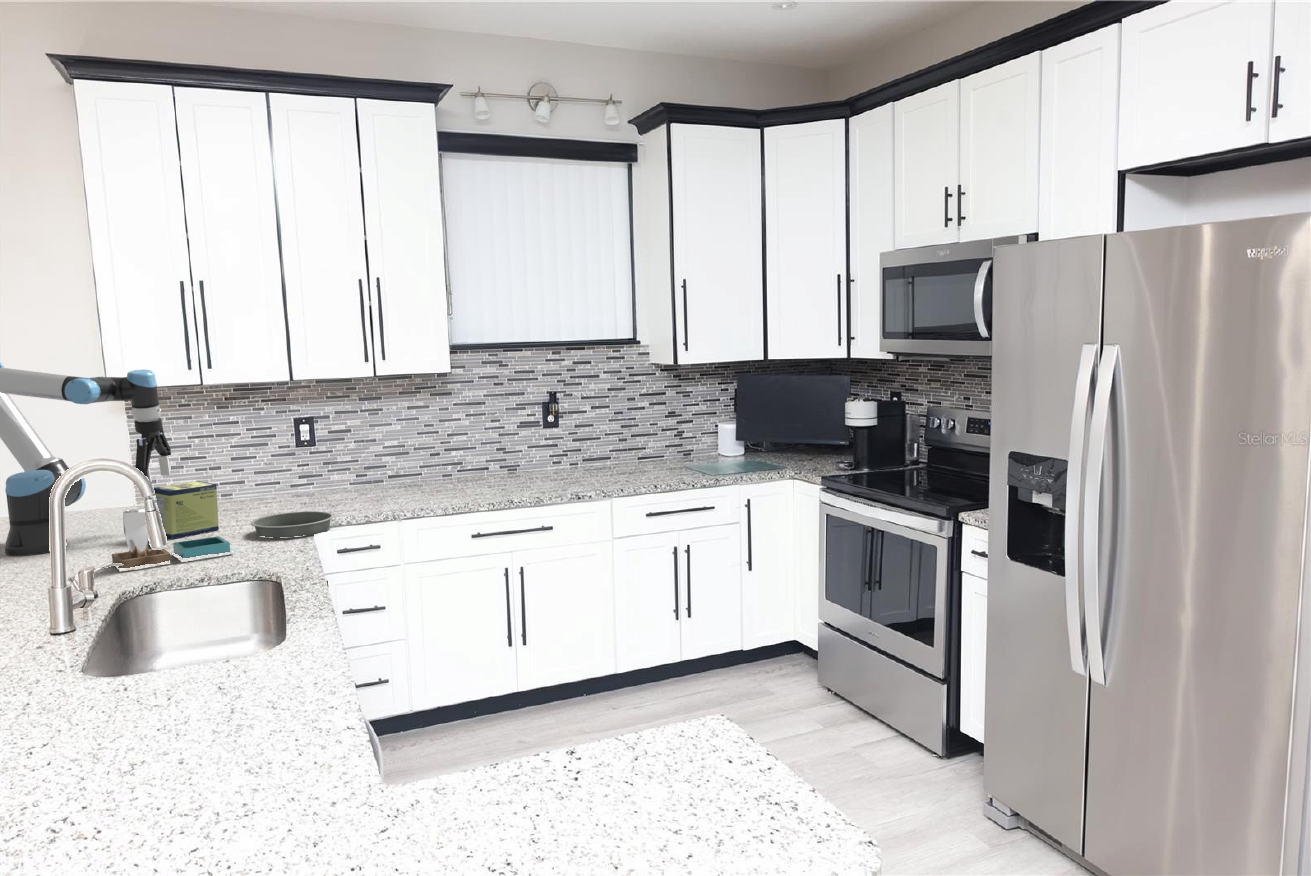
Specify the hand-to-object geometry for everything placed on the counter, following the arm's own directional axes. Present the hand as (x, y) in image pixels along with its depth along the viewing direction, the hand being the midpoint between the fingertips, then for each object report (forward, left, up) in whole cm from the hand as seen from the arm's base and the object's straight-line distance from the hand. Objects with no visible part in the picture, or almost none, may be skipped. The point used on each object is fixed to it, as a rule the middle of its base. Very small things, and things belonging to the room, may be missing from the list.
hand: (157, 482), depth 275 cm
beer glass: (-13, -47, -17) cm, 51 cm away
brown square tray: (-13, -47, -17) cm, 51 cm away
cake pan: (+32, -32, -17) cm, 48 cm away
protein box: (+6, -9, -17) cm, 20 cm away
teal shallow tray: (+2, -47, -17) cm, 49 cm away
